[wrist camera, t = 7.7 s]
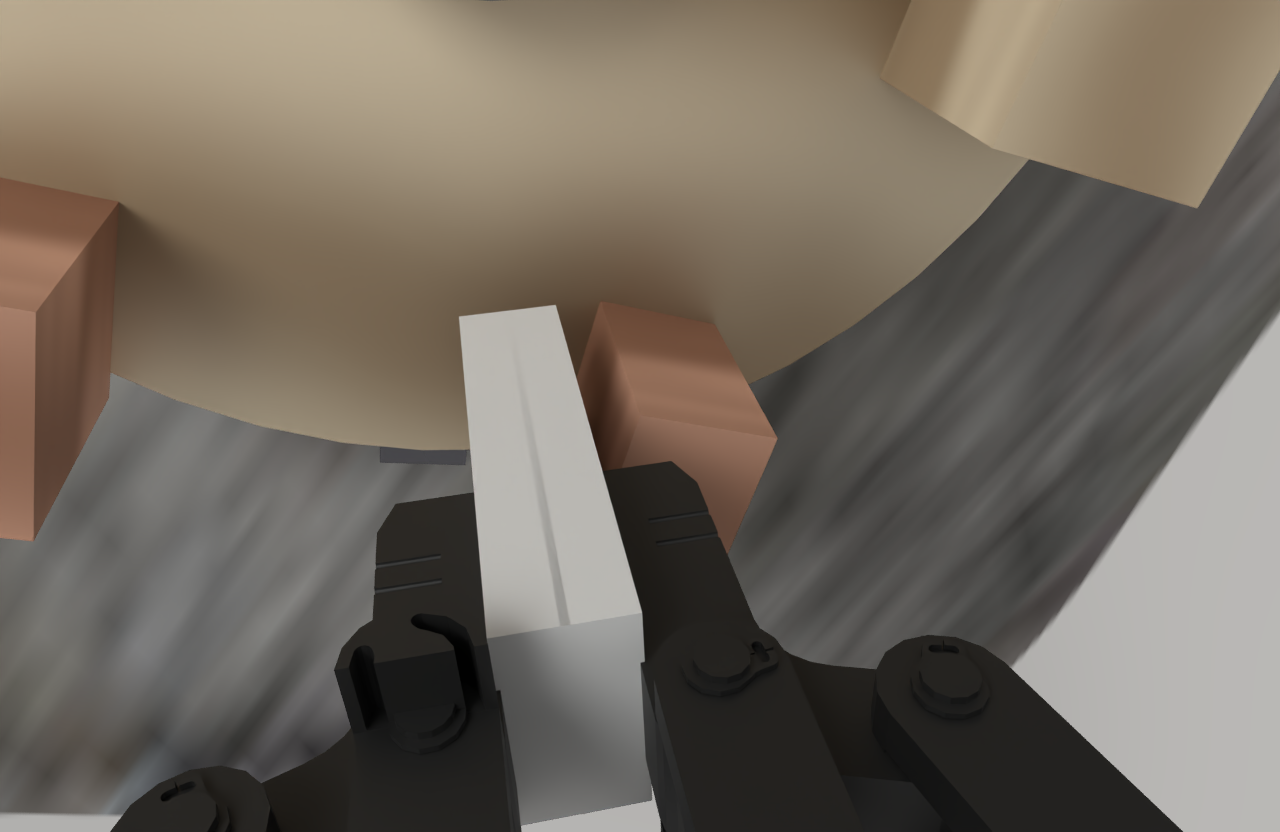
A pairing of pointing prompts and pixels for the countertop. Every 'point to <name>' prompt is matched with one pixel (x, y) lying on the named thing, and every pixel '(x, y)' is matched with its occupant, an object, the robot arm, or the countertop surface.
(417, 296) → the ring nut
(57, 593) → the countertop surface
